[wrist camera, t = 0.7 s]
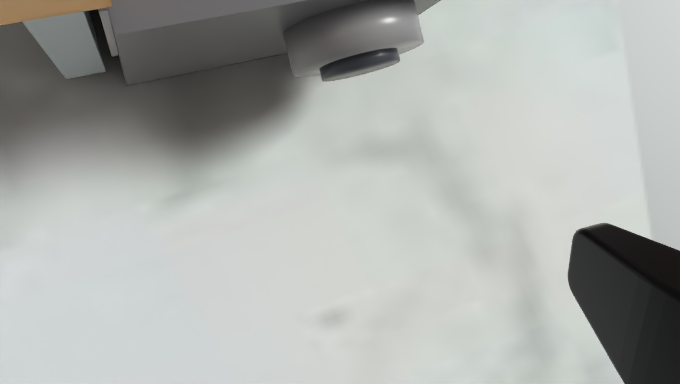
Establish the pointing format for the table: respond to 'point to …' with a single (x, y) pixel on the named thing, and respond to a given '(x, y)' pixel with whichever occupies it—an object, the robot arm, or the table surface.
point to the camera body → (260, 35)
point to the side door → (60, 31)
